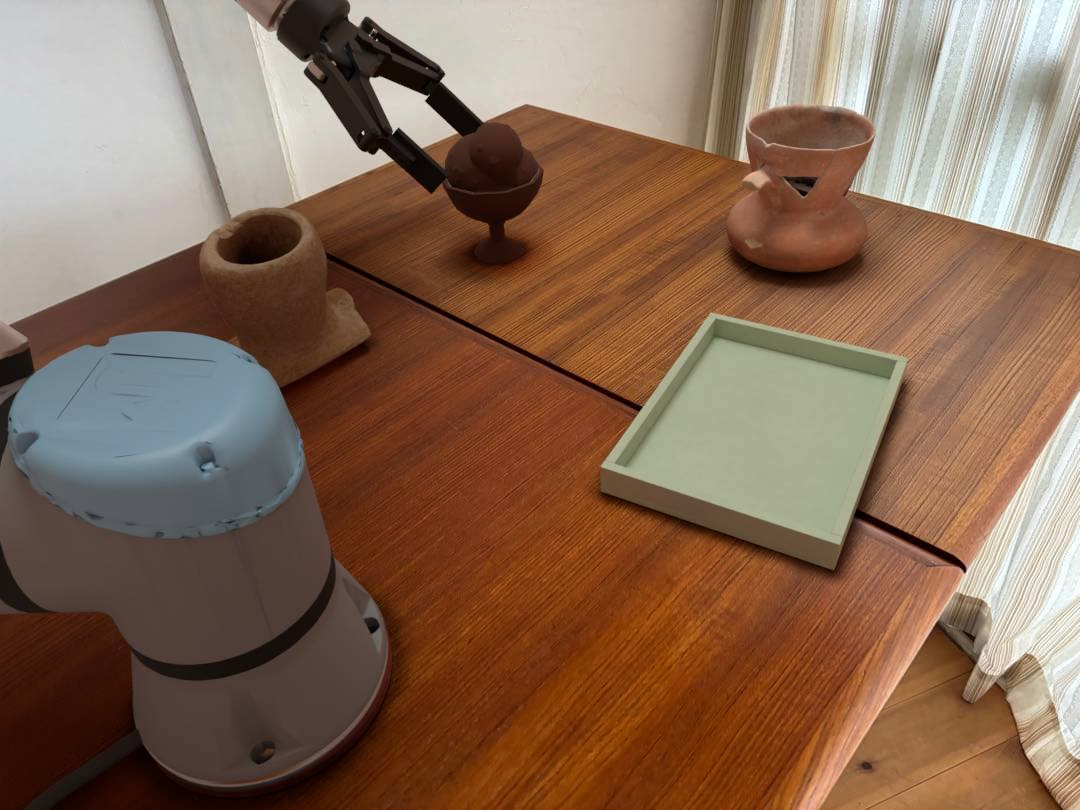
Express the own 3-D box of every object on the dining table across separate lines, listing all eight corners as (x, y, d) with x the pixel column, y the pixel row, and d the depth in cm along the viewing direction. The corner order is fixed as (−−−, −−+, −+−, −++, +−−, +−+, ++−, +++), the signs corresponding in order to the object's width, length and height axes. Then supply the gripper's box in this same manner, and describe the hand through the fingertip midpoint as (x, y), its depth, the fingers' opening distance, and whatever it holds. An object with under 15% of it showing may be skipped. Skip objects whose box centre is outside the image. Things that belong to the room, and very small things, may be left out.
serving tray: (833, 570, 57) (840, 545, 56) (600, 491, 65) (600, 466, 63) (902, 382, 73) (908, 357, 72) (708, 335, 81) (710, 312, 79)
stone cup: (263, 424, 73) (212, 272, 64) (203, 369, 81) (149, 225, 71) (405, 351, 81) (378, 205, 72) (338, 306, 88) (306, 169, 79)
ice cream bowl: (557, 234, 99) (552, 105, 89) (527, 281, 90) (518, 144, 81) (473, 225, 101) (459, 99, 92) (436, 271, 93) (417, 137, 84)
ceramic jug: (793, 307, 84) (814, 170, 75) (688, 255, 93) (696, 128, 84) (903, 247, 92) (933, 117, 83) (796, 205, 101) (813, 84, 92)
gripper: (255, 10, 72) (445, 184, 78) (364, -51, 91) (510, 93, 97) (217, 73, 76) (400, 233, 83) (328, 2, 95) (470, 136, 101)
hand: (460, 157), depth 90 cm, fingers open, 13 cm apart
